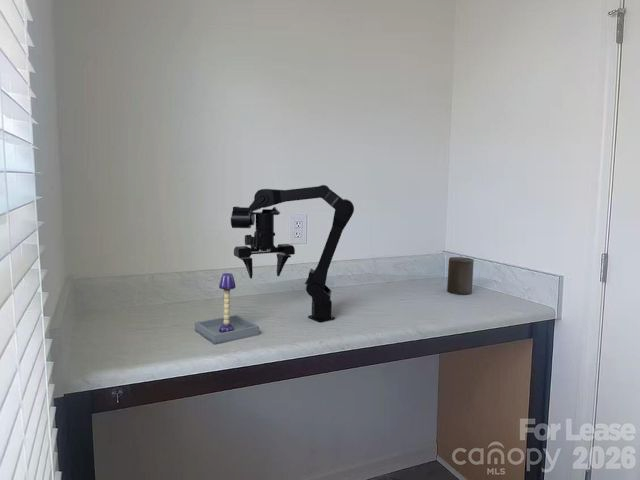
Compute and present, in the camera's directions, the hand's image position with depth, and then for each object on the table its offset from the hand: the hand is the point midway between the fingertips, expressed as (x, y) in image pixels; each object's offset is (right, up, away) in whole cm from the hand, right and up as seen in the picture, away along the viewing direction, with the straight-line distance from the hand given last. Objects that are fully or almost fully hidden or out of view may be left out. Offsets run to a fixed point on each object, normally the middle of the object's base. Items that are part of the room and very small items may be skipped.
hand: (264, 277), depth 147 cm
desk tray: (-9, -15, -14) cm, 23 cm away
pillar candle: (+74, -9, +39) cm, 84 cm away
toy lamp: (-9, -14, -14) cm, 22 cm away
